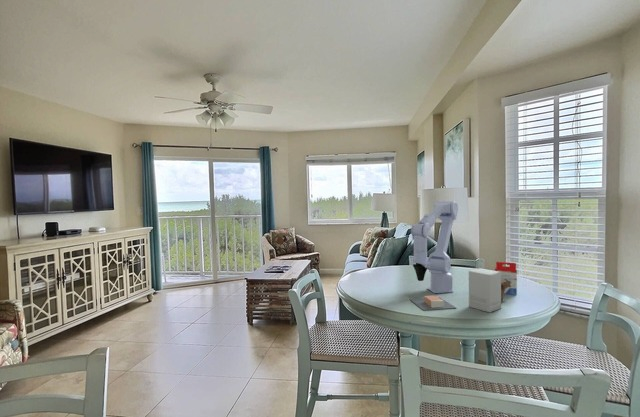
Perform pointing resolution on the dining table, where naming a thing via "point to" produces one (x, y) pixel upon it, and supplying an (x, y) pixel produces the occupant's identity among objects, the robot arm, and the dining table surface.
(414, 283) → the dining table surface
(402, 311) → the dining table surface
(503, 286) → the dinosaur figurine
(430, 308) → the mat
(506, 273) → the ink box
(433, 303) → the slab
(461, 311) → the dining table surface
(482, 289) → the supplement box
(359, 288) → the dining table surface
